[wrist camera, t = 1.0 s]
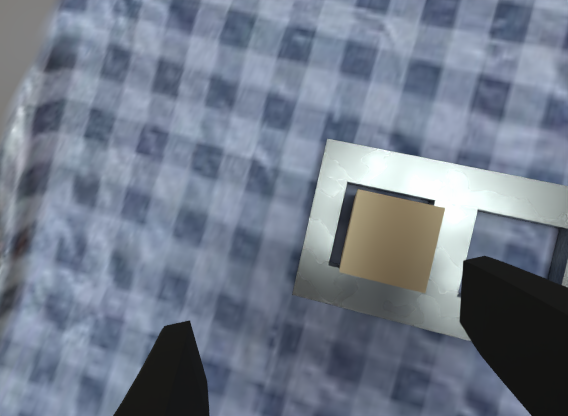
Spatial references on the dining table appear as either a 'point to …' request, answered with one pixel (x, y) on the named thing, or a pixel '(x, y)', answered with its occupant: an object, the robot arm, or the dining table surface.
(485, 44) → the dining table surface
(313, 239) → the gray peg hole board
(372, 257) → the birch peg
